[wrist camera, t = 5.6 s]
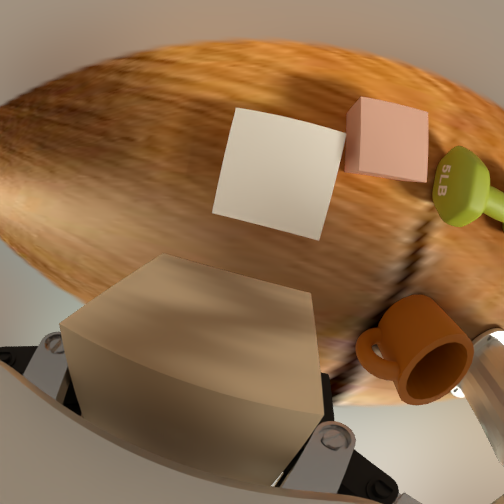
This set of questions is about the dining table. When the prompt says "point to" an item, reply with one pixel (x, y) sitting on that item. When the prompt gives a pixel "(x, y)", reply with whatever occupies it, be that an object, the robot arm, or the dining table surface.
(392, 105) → the pink cube
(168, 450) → the maple cube
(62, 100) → the dining table surface
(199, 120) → the dining table surface
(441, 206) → the dumbbell
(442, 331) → the mug
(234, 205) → the base block
